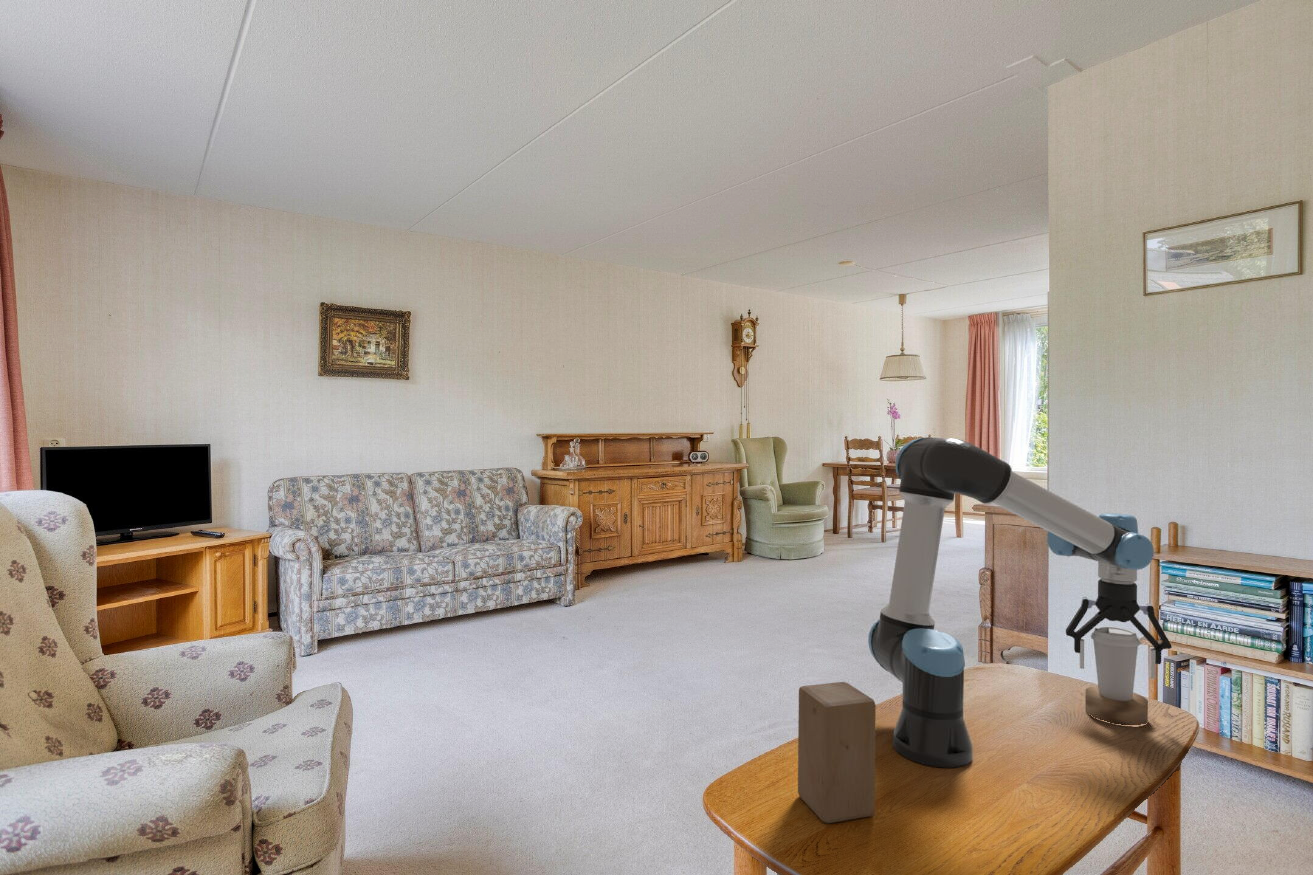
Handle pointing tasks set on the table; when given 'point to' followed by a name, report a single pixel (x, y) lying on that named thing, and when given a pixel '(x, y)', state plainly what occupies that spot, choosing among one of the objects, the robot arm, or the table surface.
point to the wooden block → (836, 751)
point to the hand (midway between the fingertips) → (1116, 672)
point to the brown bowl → (1116, 708)
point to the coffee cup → (1115, 661)
